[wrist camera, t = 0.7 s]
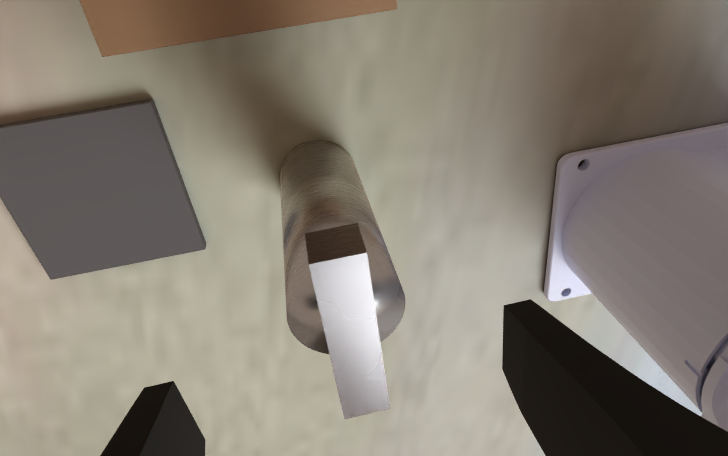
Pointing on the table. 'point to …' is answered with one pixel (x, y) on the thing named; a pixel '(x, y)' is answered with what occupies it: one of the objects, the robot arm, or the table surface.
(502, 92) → the table surface
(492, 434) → the table surface
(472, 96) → the table surface
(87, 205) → the rubber mat
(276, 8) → the walnut socket block
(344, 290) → the grey upright piece
